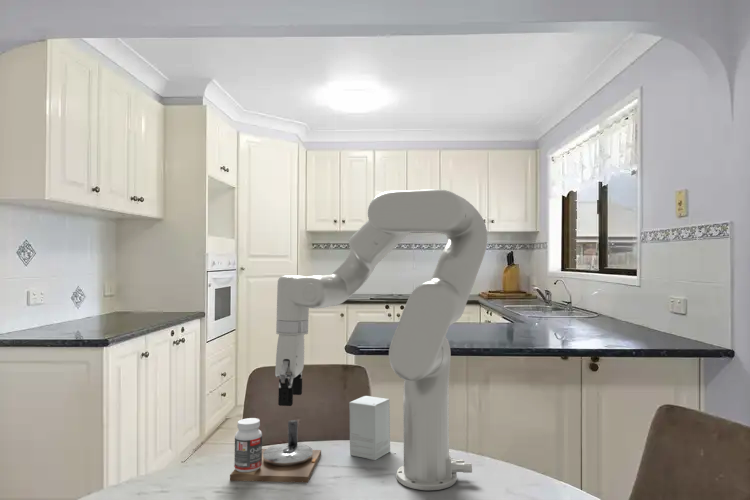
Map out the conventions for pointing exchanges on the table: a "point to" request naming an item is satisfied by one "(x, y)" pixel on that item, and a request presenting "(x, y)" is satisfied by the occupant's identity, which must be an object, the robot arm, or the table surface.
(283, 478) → the dial board
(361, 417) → the supplement box
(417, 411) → the robot arm
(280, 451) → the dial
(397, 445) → the table surface
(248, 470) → the pill bottle
